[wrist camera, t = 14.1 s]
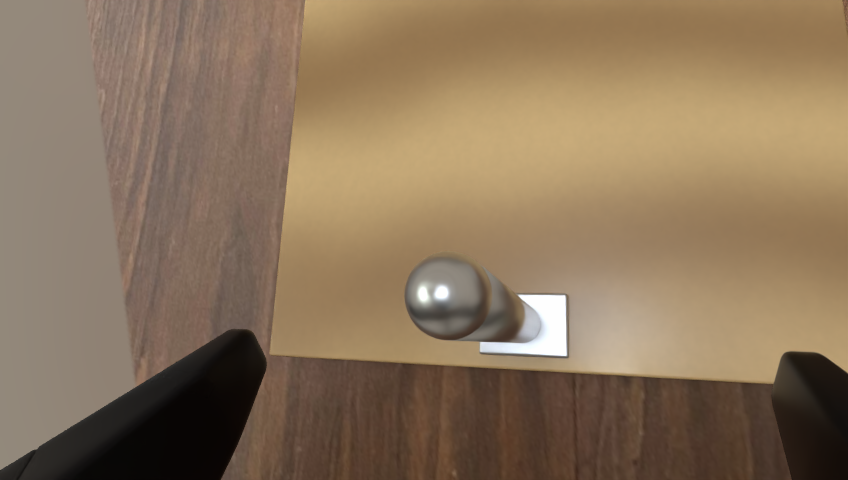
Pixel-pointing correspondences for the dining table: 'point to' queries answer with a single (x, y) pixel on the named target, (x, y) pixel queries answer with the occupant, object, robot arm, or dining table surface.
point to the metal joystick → (484, 309)
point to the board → (574, 178)
